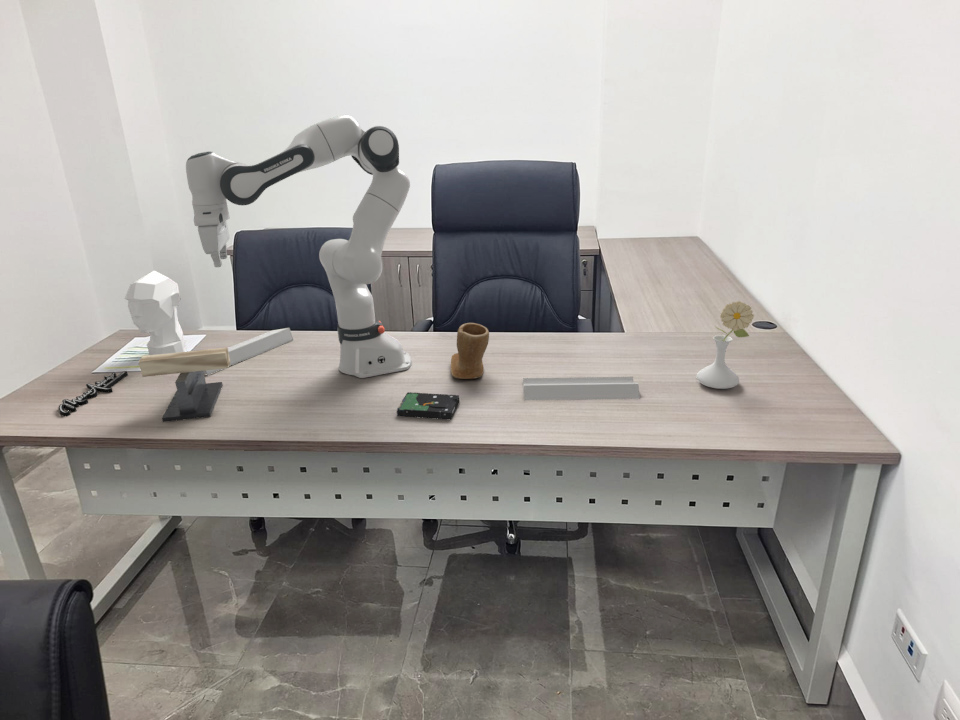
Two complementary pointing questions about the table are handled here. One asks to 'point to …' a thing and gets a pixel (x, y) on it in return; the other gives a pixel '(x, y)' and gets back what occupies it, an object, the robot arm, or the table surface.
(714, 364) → the flower in vase
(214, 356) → the beech rod
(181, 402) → the dark gray stand
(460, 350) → the brown boot
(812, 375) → the table surface
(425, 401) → the disk drive
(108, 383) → the nameplate
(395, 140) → the robot arm
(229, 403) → the table surface
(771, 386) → the table surface
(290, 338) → the decorative molding
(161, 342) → the head bust
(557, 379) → the crown molding
